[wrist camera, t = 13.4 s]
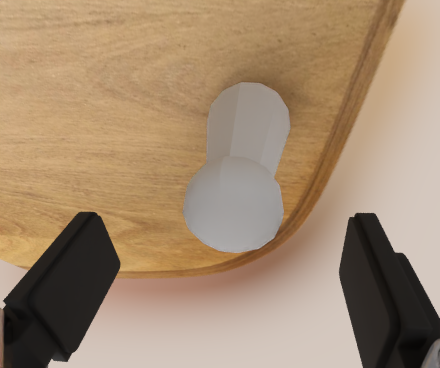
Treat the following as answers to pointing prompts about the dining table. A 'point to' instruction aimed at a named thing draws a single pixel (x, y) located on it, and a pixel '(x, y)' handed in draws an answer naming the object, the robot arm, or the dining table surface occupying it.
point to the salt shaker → (240, 170)
